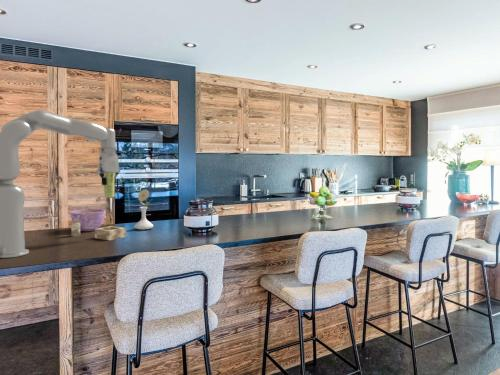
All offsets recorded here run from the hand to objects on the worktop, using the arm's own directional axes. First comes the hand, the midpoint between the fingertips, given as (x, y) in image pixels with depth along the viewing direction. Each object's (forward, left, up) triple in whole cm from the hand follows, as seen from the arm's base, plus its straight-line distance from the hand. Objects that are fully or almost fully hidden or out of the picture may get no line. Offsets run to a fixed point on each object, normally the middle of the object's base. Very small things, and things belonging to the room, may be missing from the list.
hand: (108, 184), depth 194 cm
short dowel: (-7, +20, -29) cm, 36 cm away
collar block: (0, 0, -29) cm, 29 cm away
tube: (0, 0, -7) cm, 7 cm away
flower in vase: (+27, +2, -30) cm, 40 cm away
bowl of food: (+8, +30, -30) cm, 43 cm away
